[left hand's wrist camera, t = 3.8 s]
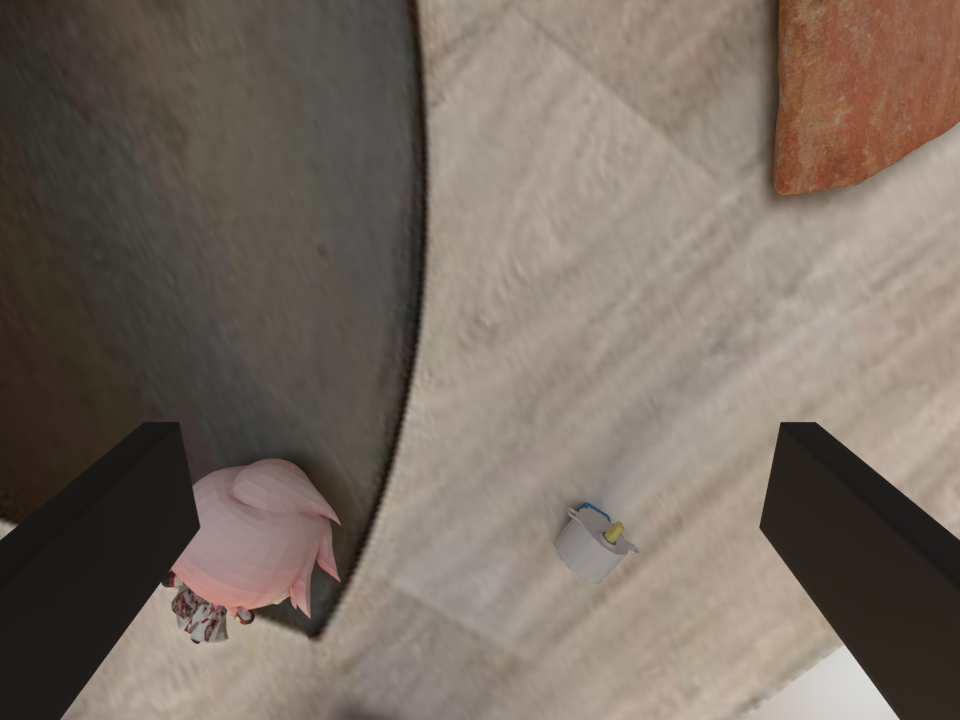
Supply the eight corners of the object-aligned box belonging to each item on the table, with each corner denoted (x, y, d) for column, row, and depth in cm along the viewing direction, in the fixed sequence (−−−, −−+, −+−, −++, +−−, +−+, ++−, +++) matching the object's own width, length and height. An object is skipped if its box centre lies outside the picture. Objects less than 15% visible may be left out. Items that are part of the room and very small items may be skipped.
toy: (317, 625, 48) (397, 500, 43) (227, 732, 38) (316, 584, 33) (209, 540, 50) (273, 408, 44) (95, 620, 40) (161, 462, 34)
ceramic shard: (1069, 170, 32) (778, 202, 35) (994, 151, 37) (749, 179, 40) (1181, -176, 25) (808, -102, 28) (1068, -137, 31) (767, -79, 33)
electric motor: (643, 515, 46) (662, 556, 41) (606, 555, 48) (620, 600, 43) (574, 473, 45) (585, 512, 40) (538, 517, 46) (545, 559, 41)
